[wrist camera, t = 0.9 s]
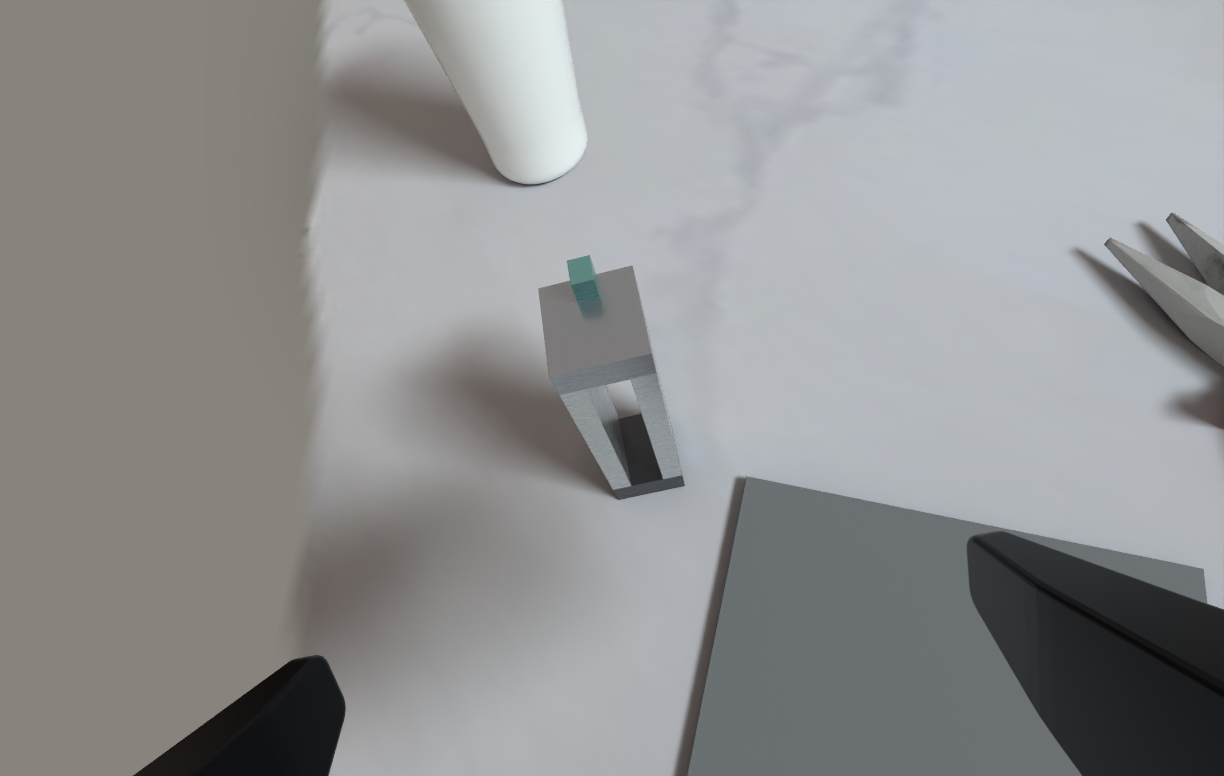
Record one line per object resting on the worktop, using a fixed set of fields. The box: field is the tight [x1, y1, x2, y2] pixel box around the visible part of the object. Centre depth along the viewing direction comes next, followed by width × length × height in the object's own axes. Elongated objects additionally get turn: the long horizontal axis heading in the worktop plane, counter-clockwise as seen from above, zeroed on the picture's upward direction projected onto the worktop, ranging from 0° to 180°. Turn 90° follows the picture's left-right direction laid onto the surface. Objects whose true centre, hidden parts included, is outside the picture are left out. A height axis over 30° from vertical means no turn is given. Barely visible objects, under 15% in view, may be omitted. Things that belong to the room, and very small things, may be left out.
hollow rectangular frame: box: [538, 255, 685, 500], centre depth 20 cm, size 3×3×11 cm
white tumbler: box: [404, 0, 588, 184], centre depth 28 cm, size 7×7×15 cm
